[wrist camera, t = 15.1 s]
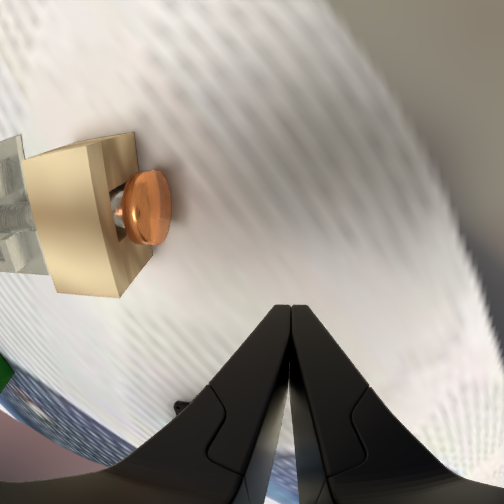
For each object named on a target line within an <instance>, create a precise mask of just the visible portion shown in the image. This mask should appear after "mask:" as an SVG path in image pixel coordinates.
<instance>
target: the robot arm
mask: <svg viewBox="0 0 504 504" xmlns="http://www.w3.org/2000/svg"><path fill="white" fill-rule="evenodd" d="M289 364H290V367H289ZM288 384H289V393H290V403H291V414H292V424H293V434H294V445H295V456H296V468H297V479H298V491H299V504H504V488H501V487H496V486H492V485H488V484H484V483H480V482H476V481H472V480H468V479H465V478H463V477H461V476H459V475H457V474H455V473H454V472H452V471H451V470H449V469H448V468H447V467H445V466H444V465H443V464H442V463H441V462H440V461H439V460H438V459H437V458H436V457H435V456H434V455H433V454H432V453H431V452H430V451H429V450H428V449H427V448H426V447H425V446H424V445H423V444H422V443H421V442H420V441H419V440H418V439H417V438H416V437H415V436H414V435H413V434H412V433H411V432H410V431H409V430H408V429H407V428H406V427H405V426H404V425H403V424H402V423H401V422H400V421H399V420H398V419H397V418H396V417H395V416H394V415H393V414H392V413H391V411H390V410H389V409H388V408H387V406H386V405H385V404H384V403H383V402H382V400H381V399H380V398H379V397H378V395H377V394H376V393H375V391H374V390H373V389H372V388H371V387H369V384H368V382H367V381H366V380H365V379H364V377H363V376H362V375H361V373H360V372H359V371H358V369H357V368H356V367H355V366H354V364H353V363H352V362H351V360H350V359H349V358H348V357H347V355H346V354H345V353H344V351H343V350H342V349H341V347H340V346H339V345H338V344H337V342H336V341H335V340H334V338H333V337H332V336H331V335H330V333H329V332H328V331H327V329H326V328H325V327H324V326H323V324H322V323H321V322H320V320H319V319H318V318H317V317H316V315H315V314H314V313H313V311H312V310H311V309H310V308H309V306H307V305H292V307H291V306H290V305H274V306H273V308H272V309H271V310H270V311H269V312H268V314H267V315H266V316H265V317H264V319H263V320H262V321H261V322H260V323H259V325H258V326H257V327H256V328H255V329H254V331H253V332H252V333H251V334H250V335H249V337H248V338H247V339H246V340H245V341H244V343H243V344H242V345H241V346H240V347H239V348H238V350H237V351H236V352H235V353H234V354H233V355H232V357H231V358H230V359H229V360H228V361H227V362H226V364H225V365H224V366H223V367H222V368H221V369H220V371H219V372H218V373H217V374H216V375H215V376H214V377H213V379H212V380H211V381H210V382H209V385H206V386H205V387H204V389H203V390H202V391H201V392H200V393H199V394H198V395H197V396H196V397H195V399H194V400H193V401H192V402H191V403H190V404H188V403H180V402H176V403H175V404H174V409H175V412H176V415H177V416H176V417H175V418H174V419H173V420H172V421H170V422H169V423H168V424H167V425H166V426H165V427H163V428H162V429H161V430H160V431H159V432H157V433H156V434H155V435H154V436H152V437H151V438H150V439H149V440H147V441H146V442H145V443H144V444H142V445H141V446H140V447H139V448H137V449H136V450H135V451H134V452H132V453H131V454H130V455H128V456H127V457H126V458H124V459H123V460H121V461H120V462H118V463H116V464H115V465H113V466H110V467H108V468H106V469H103V470H100V471H96V472H91V473H86V474H79V475H73V476H68V477H60V478H52V479H45V480H36V481H24V482H6V481H0V504H264V500H265V496H266V492H267V488H268V483H269V479H270V475H271V470H272V466H273V461H274V457H275V452H276V448H277V443H278V438H279V433H280V428H281V423H282V418H283V413H284V408H285V403H286V398H287V392H288Z"/></svg>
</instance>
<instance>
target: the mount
mask: <svg viewBox="0 0 504 504" xmlns="http://www.w3.org/2000/svg"><path fill="white" fill-rule="evenodd" d="M21 162H22V167H23V173H24V178H25V183H26V188H27V193H28V197H29V202H30V206H31V210H32V214H33V218H34V222H35V226H36V229H37V233H38V236H39V240H40V243H41V247H42V250H43V253H44V256H45V260H46V263H47V266H48V269H49V272H50V275H51V278H52V280H53V283H54V286H55V289H56V291H57V293H65V294H75V295H86V296H98V297H110V298H120V297H121V296H122V294H123V293H124V292H125V290H126V289H127V288H128V286H129V285H130V284H131V283H132V281H133V280H134V279H135V277H136V276H137V275H138V274H139V272H140V271H141V270H142V268H143V267H144V266H145V265H146V263H147V262H148V261H149V260H150V258H151V257H152V256H153V253H152V248H151V245H137V244H135V243H133V242H132V241H131V239H130V238H129V236H128V235H127V232H126V230H125V228H116V227H115V222H114V218H113V213H112V207H111V202H110V197H109V192H110V191H111V190H113V189H115V188H116V187H118V186H120V185H121V184H123V183H125V182H127V180H128V179H129V177H130V176H131V175H132V174H133V173H135V172H139V169H138V162H137V154H136V146H135V137H134V132H130V133H124V134H118V135H112V136H107V137H101V138H96V139H91V140H86V141H81V142H76V143H72V144H69V145H66V146H63V147H60V148H56V149H53V150H50V151H47V152H44V153H42V154H39V155H36V156H33V157H30V158H28V159H25V160H22V161H21Z"/></svg>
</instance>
